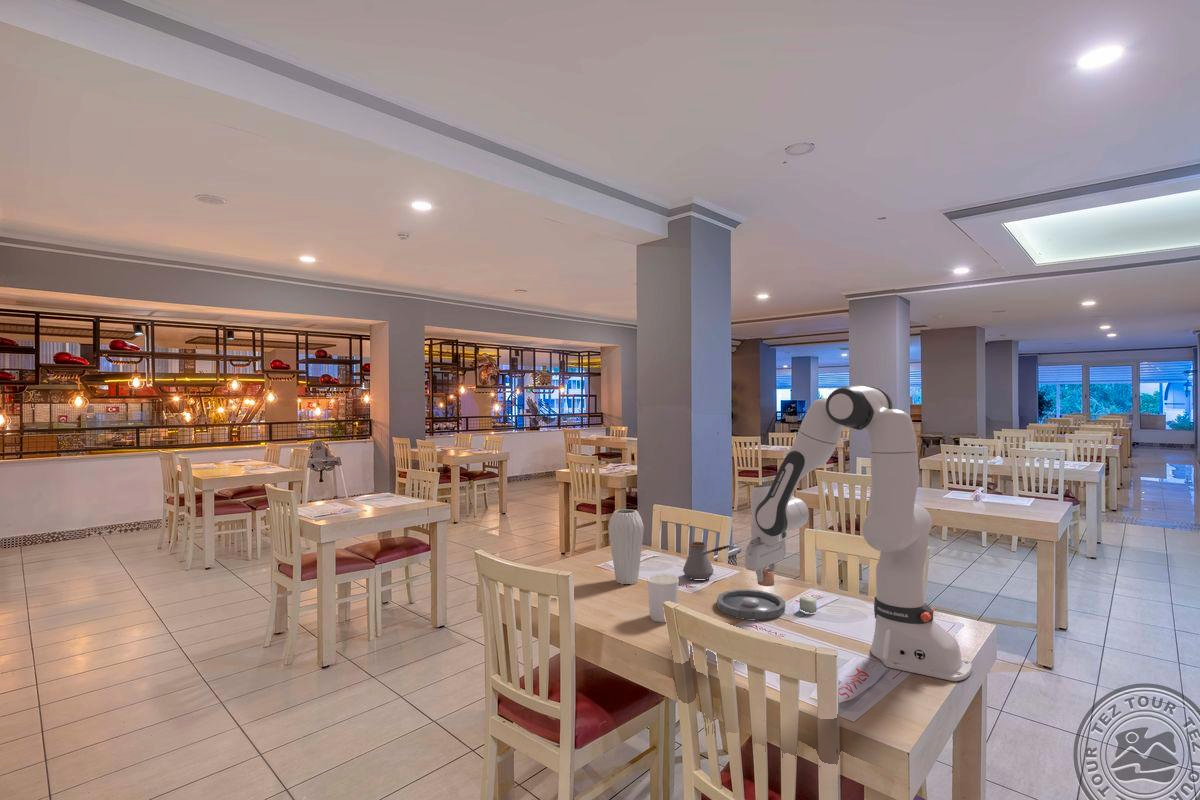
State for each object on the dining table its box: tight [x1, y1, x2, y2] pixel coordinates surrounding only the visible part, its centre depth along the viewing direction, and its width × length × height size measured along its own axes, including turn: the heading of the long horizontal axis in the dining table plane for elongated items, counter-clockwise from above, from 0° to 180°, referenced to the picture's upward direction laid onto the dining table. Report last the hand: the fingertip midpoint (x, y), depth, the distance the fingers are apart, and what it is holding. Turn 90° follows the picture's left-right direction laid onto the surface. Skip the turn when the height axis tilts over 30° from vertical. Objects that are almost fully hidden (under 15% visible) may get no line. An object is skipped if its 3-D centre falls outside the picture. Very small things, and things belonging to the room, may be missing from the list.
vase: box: [607, 508, 644, 585], centre depth 212 cm, size 13×13×26 cm
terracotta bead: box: [757, 568, 775, 587], centre depth 179 cm, size 5×5×4 cm
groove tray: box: [716, 588, 786, 621], centre depth 182 cm, size 21×21×2 cm
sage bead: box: [799, 596, 818, 613], centre depth 178 cm, size 5×5×4 cm
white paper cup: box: [646, 573, 680, 623], centre depth 176 cm, size 10×10×12 cm
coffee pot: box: [682, 541, 733, 580], centre depth 211 cm, size 21×12×15 cm, turn 38°
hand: (765, 578), depth 179 cm, fingers closed on terracotta bead, 5 cm apart
